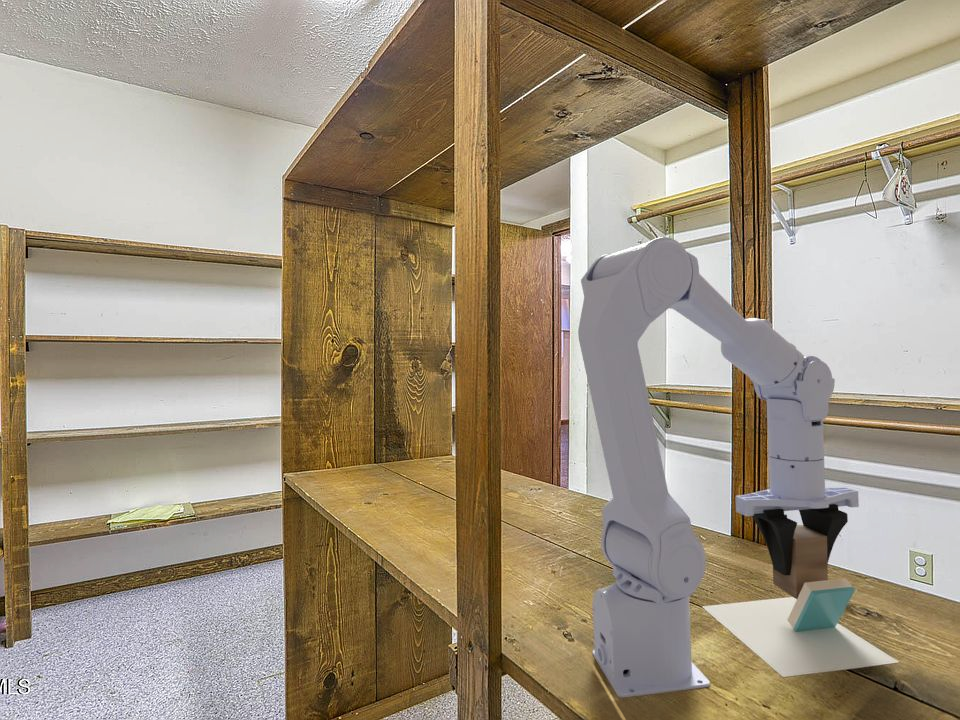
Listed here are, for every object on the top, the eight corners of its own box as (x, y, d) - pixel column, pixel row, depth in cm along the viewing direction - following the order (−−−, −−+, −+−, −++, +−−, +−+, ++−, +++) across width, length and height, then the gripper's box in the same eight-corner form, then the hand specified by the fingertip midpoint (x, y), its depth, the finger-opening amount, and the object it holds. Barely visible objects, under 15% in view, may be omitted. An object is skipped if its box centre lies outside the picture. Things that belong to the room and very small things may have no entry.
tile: (795, 631, 61) (813, 594, 58) (787, 620, 62) (804, 582, 59) (835, 627, 62) (855, 589, 58) (826, 615, 63) (845, 578, 60)
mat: (783, 680, 53) (782, 676, 53) (701, 609, 68) (701, 606, 68) (899, 666, 54) (899, 662, 54) (795, 599, 69) (795, 596, 69)
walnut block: (773, 584, 65) (771, 527, 65) (803, 581, 66) (801, 524, 65) (796, 599, 61) (795, 539, 61) (828, 596, 62) (826, 536, 62)
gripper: (761, 467, 58) (765, 590, 58) (879, 459, 60) (883, 578, 60) (723, 455, 65) (727, 565, 65) (830, 448, 67) (834, 555, 67)
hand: (799, 570), depth 63 cm, fingers closed on walnut block, 4 cm apart
